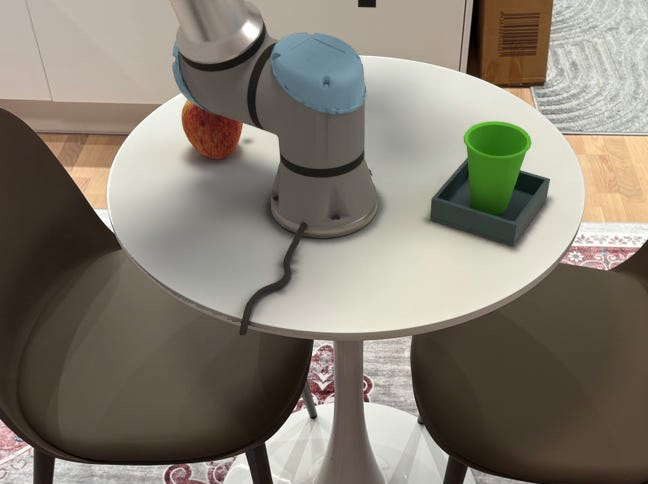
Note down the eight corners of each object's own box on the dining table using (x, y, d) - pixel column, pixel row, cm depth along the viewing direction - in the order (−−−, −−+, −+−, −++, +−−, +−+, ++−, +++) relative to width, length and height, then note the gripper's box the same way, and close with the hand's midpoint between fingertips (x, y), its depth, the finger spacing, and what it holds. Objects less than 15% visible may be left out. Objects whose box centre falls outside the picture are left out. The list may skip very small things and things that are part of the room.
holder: (513, 246, 115) (516, 225, 113) (429, 219, 120) (431, 198, 117) (546, 199, 123) (550, 178, 121) (467, 175, 127) (469, 154, 125)
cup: (447, 195, 123) (453, 127, 115) (504, 183, 125) (513, 116, 117) (472, 230, 117) (480, 161, 109) (531, 218, 119) (543, 149, 111)
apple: (184, 169, 128) (174, 109, 121) (190, 138, 135) (180, 79, 127) (244, 168, 129) (237, 108, 121) (247, 136, 135) (240, 77, 128)
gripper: (416, -194, 104) (411, -7, 111) (389, -141, 128) (386, 11, 134) (356, -197, 103) (354, -8, 110) (339, -143, 127) (339, 10, 133)
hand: (372, 3), depth 122 cm, fingers open, 13 cm apart
